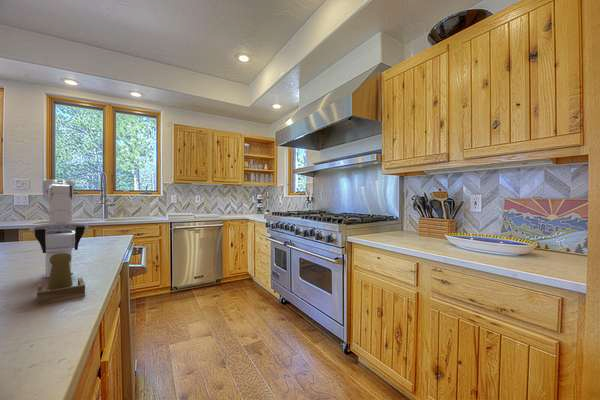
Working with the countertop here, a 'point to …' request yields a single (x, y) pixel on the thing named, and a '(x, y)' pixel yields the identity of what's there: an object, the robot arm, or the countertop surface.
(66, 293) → the spice rack
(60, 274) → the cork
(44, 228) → the robot arm
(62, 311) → the countertop surface
